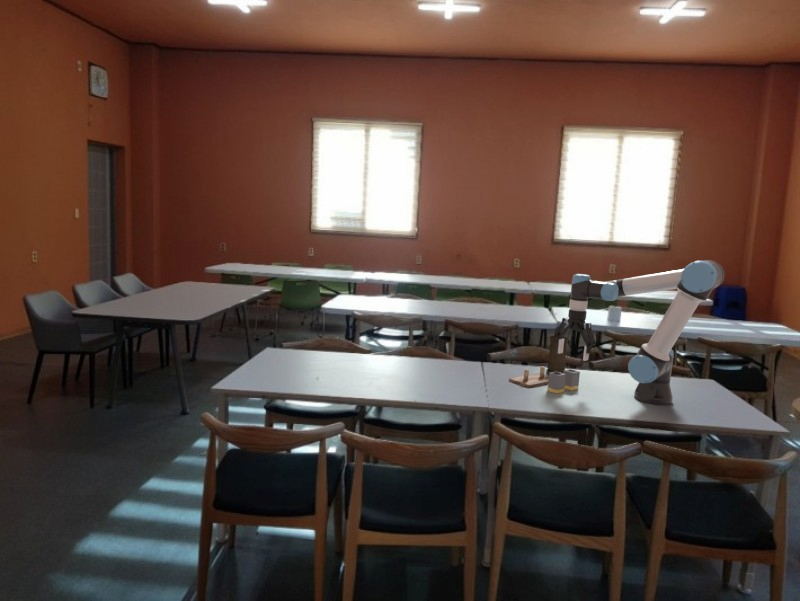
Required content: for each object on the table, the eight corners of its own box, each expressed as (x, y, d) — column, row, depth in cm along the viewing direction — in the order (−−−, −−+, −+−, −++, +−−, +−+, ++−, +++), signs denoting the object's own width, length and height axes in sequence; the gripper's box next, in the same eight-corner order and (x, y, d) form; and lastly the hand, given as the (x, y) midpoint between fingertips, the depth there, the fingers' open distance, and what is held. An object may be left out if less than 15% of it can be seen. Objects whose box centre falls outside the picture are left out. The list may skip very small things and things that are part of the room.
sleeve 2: (578, 388, 266) (579, 371, 265) (571, 390, 263) (572, 372, 262) (569, 386, 270) (570, 368, 269) (561, 387, 267) (563, 370, 266)
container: (560, 376, 285) (564, 340, 282) (543, 373, 290) (546, 336, 288) (568, 373, 292) (571, 337, 289) (550, 369, 297) (554, 334, 295)
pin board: (558, 382, 275) (559, 369, 274) (529, 387, 263) (530, 374, 262) (537, 375, 285) (539, 363, 284) (508, 380, 273) (510, 367, 272)
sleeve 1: (563, 392, 260) (565, 374, 259) (556, 393, 257) (558, 375, 256) (554, 388, 264) (556, 371, 263) (547, 390, 261) (549, 372, 260)
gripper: (607, 314, 254) (602, 362, 257) (560, 304, 273) (555, 349, 276) (597, 315, 249) (591, 364, 252) (549, 305, 269) (545, 351, 272)
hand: (572, 356), depth 264 cm, fingers open, 13 cm apart
